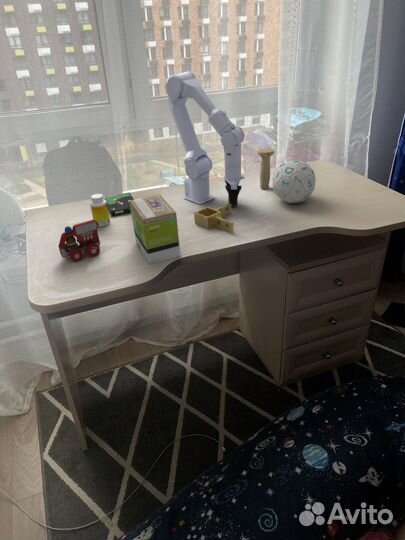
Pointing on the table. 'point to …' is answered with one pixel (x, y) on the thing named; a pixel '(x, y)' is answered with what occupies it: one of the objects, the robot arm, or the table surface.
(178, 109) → the robot arm
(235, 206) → the pin
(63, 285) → the table surface
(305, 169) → the puzzle ball
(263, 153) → the handle
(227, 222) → the gold square socket frame
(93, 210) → the supplement bottle
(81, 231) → the toy fire truck
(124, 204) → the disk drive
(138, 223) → the tea box
